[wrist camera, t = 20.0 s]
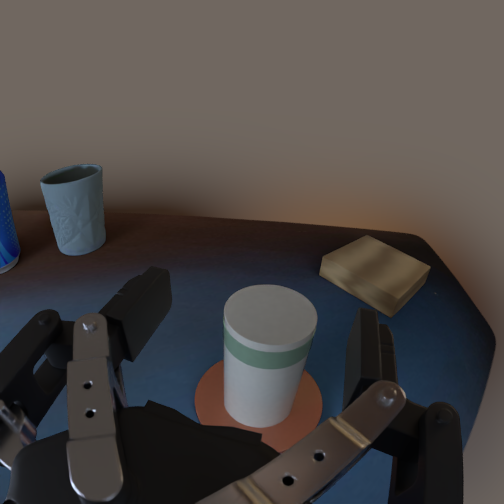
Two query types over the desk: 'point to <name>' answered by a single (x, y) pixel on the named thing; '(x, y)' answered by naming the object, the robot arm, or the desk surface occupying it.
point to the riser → (375, 273)
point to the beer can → (7, 231)
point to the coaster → (276, 436)
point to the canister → (265, 352)
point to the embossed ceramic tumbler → (76, 207)
